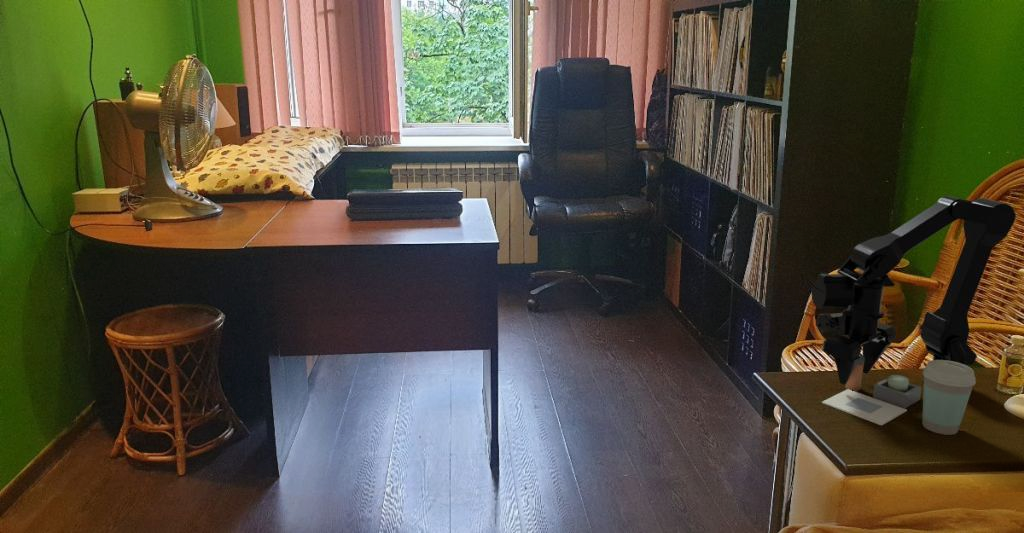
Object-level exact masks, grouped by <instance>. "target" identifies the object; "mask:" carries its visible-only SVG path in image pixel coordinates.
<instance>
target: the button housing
mask: <svg viewBox="0 0 1024 533" xmlns="http://www.w3.org/2000/svg"><path fill="white" fill-rule="evenodd" d="M888 381H889V376H888V377H887V378H884V379H883V380H880V381H878V382H877V383H875V384H873V385H874V386H873V392H872V398H875V399H878V400H881V401H883V402H886V403H889V404H892V405H895V406H898V407H901V408H903V409H907V408H908V407H910V406H911V405H913V404H915V403H917V402H919V401H920V399H921V393H922V387H921V386H919V385H916V384H913V383H910V382H909V385H908V391H907V392H905V393H903V392H900V391H897V390H894V389H891V388H888Z"/></svg>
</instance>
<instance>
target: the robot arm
mask: <svg viewBox="0 0 1024 533" xmlns="http://www.w3.org/2000/svg"><path fill="white" fill-rule="evenodd" d="M1016 216H1017V214H1016V212H1015V210H1014V208H1013V206H1011V205H1010V204H1008V203H1004V202H1002V201H1001V202H1000V201H997V200H993V199H989V198H985V197H984V198H983V197H980V198H977V199H976V200H968V199H963V198H958V197H955V196H951V195H946V196H942V197H940V198H939V199H937V202H936V203H935V204H933V205H931V206H930V207H928V208H927V209H925V210H923V211H922V212H920V213H919V214H918V215H916V216H914V217H913V218H911V219H910V220H908V221H907V222H905V223H903V224H902V225H901V226H899V227H897V228H896V229H895V230H893V231H891V232H889V233H887V234H884V235H880V236H876V237H872V238H870V239H868V240H865V241H863V242H861V243H858V244H857V245H856V246H855V247H853V249H852V250H851V252H852V253H851V255H850V256H849V257H848V258H847V259H846V261H845V262H844V263H842V265H841V266H840V267H839V269H838V270H837V271H836V272H837V273H833V274H830V273H823V272H822V273H819V276H818V279H816V280H815V281H814V283H813V286H811V292H810V293H811V300H812V303H813V305H814V306H815V307H816V308H817V309H818V308H819V309H828V308H829V309H830V308H831V309H833V308H837V309H839V308H844V310H843V311H842V312H836V313H829V312H828V313H820V314H818V315H817V318H816V323H815V327H817V329H819V330H820V332H821V333H828V332H838V334H839V335H838V334H836V335H834V336H830V337H827V339H825V340H823V341H822V342H823V343H822V351H823V352H825V353H826V354H827V355H828V356H831V358H833V361H834V362H835V366H836V370H837V371H836V372H837V375H838V379H839V383H840V384H842V385H843V386H844V385H845V386H846V383H847V381H848V380H849V378H850V376H851V374H852V372H853V370H854V368H855V367H856V365H857V363H858V361H859V359H860V357H859V355H861V352H862V356H864V357H865V361H864V366H863V373H864V374H867V375H868V374H869V373H870V371H872V369H873V368H874V367H875V365H876V364H877V362H878V361H879V359H880V358H881V357H882V355H883V354H884V353H885V351H887V349H888V348H889V347H890V346H891V345H892V342H894V341H895V340H896V334H897V331H896V330H895V329H894V327H893V326H891V325H888V324H884V323H881V322H880V321H879V320H880V319H883V318H884V315H885V314H884V312H883V311H881V306H882V299H883V295H884V294H883V293H884V288H885V287H887V288H888V287H895V285H896V284H895V282H894V281H893V280H892V279H891V278H890V277H889V275H888V274H890V272H892V270H894V269H895V268H896V267H897V266H899V265H900V264H901V261H902V259H903V257H904V255H906V254H907V253H908V252H909V251H911V250H912V249H913V248H915V247H917V246H919V245H920V244H921V243H923V242H925V241H926V240H928V239H929V238H930V237H932V236H934V235H935V234H937V233H938V232H940V231H941V230H943V229H945V228H946V227H948V226H949V225H951V224H952V223H954V222H956V221H957V220H963V224H962V227H963V232H964V238H965V239H964V241H965V242H964V244H963V246H962V249H961V252H960V254H959V257H958V260H957V262H956V265H955V267H954V270H953V273H952V276H951V279H950V281H949V284H948V287H947V289H946V292H945V294H944V297H943V300H942V303H941V305H940V307H938V308H937V309H936V310H935V311H934V312H930V311H926V312H925V315H924V317H923V318H924V319H923V322H922V324H921V325H920V327H919V330H921V331H920V338H921V340H922V342H923V343H924V346H925V349H926V351H927V352H930V353H931V354H933V356H932V360H947V361H953V362H957V363H961V364H964V365H966V366H972V365H974V364H975V362H976V359H977V357H978V355H977V354H976V353H975V351H974V350H973V349H972V347H971V346H970V345H969V344H968V339H969V336H970V335H969V334H970V325H969V318H968V315H969V311H970V309H971V305H972V304H973V300H974V298H975V296H976V293H977V291H978V287H979V285H980V282H981V279H982V278H983V275H984V272H985V269H986V266H987V264H988V262H989V260H990V259H989V258H990V256H991V254H992V252H993V249H994V248H995V247H996V246H997V245H999V243H1000V242H1002V240H1004V239H1005V238H1007V236H1008V234H1009V232H1010V231H1011V229H1012V227H1013V225H1014V223H1015V222H1016V218H1017V217H1016ZM856 270H858V271H860V272H862V273H860V272H858V271H856ZM845 308H846V309H845ZM841 335H842V336H841ZM845 335H846V336H847V337H846V336H845ZM863 373H862V374H863ZM921 383H922V384H923V385H924V379H923V380H922V382H921Z"/></svg>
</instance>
